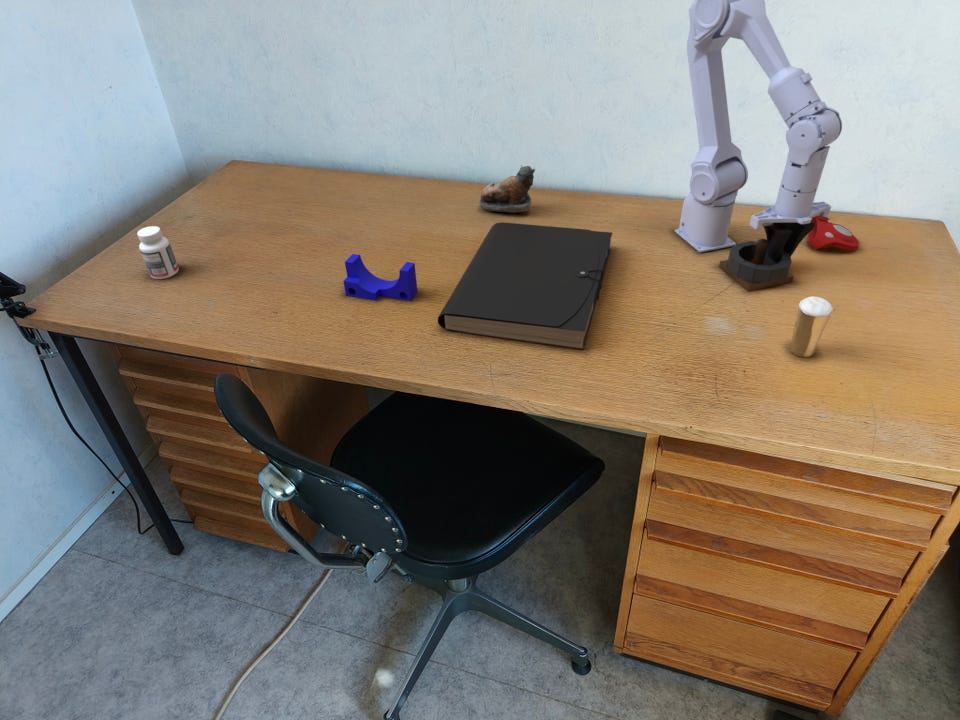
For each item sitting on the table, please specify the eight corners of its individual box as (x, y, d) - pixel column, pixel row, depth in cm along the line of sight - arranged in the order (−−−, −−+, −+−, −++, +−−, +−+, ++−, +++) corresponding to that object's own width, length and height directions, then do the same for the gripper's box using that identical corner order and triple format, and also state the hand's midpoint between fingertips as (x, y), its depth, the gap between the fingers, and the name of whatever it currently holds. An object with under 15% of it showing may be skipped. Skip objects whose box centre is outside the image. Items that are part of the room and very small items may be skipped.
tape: (716, 260, 121) (719, 246, 119) (763, 251, 123) (767, 237, 121) (749, 287, 113) (753, 273, 111) (799, 277, 115) (803, 263, 114)
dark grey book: (586, 329, 100) (436, 310, 106) (584, 350, 103) (438, 331, 109) (613, 230, 125) (491, 220, 131) (612, 250, 127) (491, 238, 133)
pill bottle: (168, 263, 129) (153, 221, 123) (184, 270, 126) (170, 228, 121) (144, 275, 126) (127, 233, 120) (160, 282, 123) (144, 240, 118)
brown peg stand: (718, 266, 121) (725, 234, 117) (760, 258, 123) (769, 225, 119) (748, 291, 114) (756, 257, 110) (792, 282, 116) (802, 248, 112)
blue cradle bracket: (345, 295, 118) (340, 266, 114) (357, 282, 121) (352, 253, 117) (407, 305, 114) (403, 276, 111) (417, 292, 118) (414, 263, 114)
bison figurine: (475, 214, 141) (474, 169, 135) (484, 200, 147) (483, 156, 140) (530, 219, 139) (531, 174, 132) (537, 205, 144) (538, 160, 138)
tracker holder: (872, 240, 125) (845, 243, 119) (856, 259, 128) (830, 263, 122) (822, 204, 131) (795, 206, 126) (808, 223, 134) (781, 225, 128)
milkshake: (806, 366, 98) (826, 310, 92) (778, 347, 102) (795, 292, 96) (828, 357, 100) (849, 301, 93) (799, 339, 103) (818, 284, 97)
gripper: (776, 202, 105) (757, 275, 114) (852, 188, 108) (828, 261, 117) (750, 185, 110) (733, 256, 119) (822, 172, 114) (801, 243, 122)
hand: (778, 257), depth 118 cm, fingers closed
